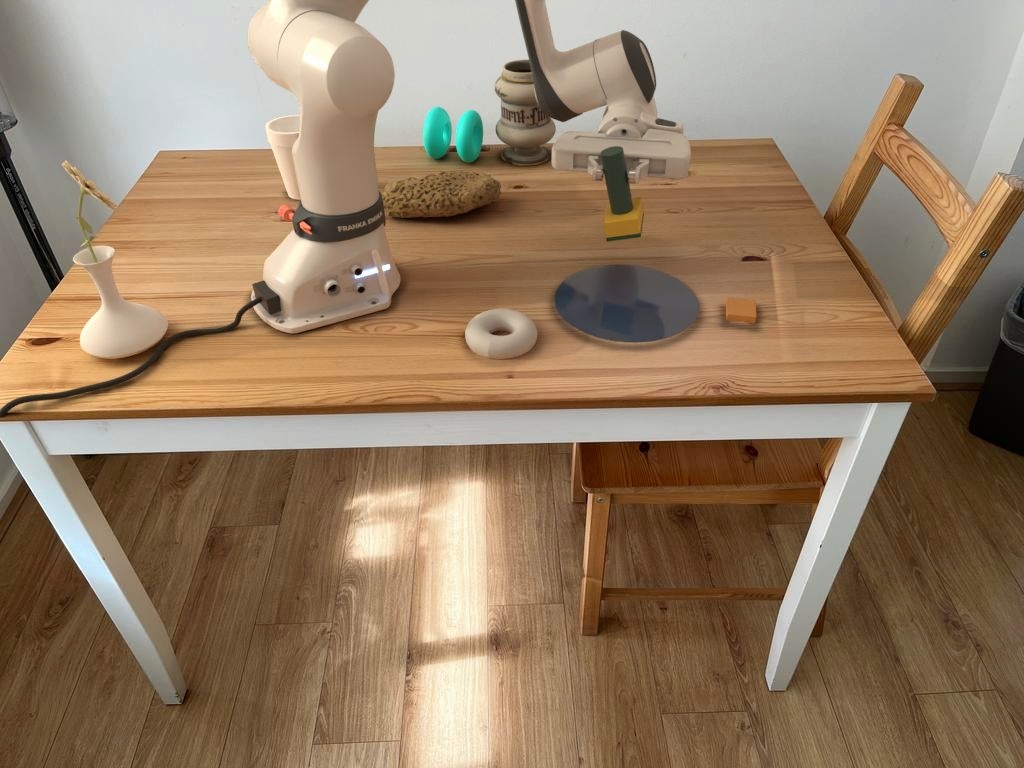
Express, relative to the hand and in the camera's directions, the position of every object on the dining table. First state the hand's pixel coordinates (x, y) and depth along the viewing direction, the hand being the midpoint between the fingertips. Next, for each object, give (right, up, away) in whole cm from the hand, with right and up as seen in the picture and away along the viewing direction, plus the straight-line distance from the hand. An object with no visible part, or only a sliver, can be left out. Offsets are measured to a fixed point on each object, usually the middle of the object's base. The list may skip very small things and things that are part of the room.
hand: (615, 177), depth 108 cm
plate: (+2, -18, +5) cm, 19 cm away
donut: (-16, -24, -2) cm, 29 cm away
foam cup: (-54, +7, +37) cm, 66 cm away
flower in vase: (-69, -23, 0) cm, 72 cm away
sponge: (-27, +2, +30) cm, 41 cm away
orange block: (+18, -20, +3) cm, 27 cm away
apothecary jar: (-12, +17, +49) cm, 54 cm away
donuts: (-26, +17, +49) cm, 58 cm away
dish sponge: (+2, -6, +6) cm, 8 cm away
